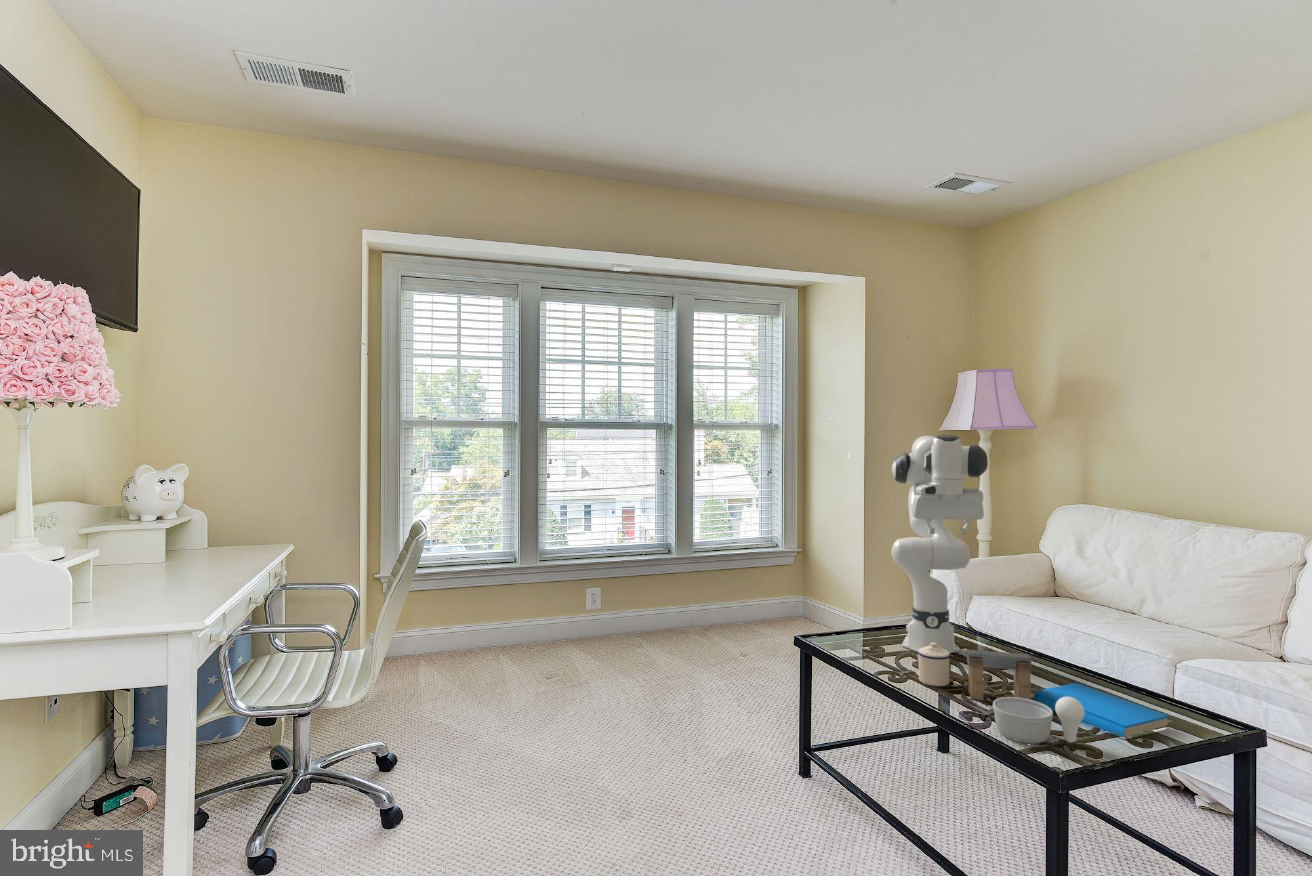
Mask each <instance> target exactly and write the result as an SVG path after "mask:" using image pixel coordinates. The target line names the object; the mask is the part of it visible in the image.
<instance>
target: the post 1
mask: <svg viewBox="0 0 1312 876" xmlns="http://www.w3.org/2000/svg"><path fill="white" fill-rule="evenodd" d="M967 667H968V668H967V675H968V677H967V683H968V684H967V687H968V688H967V689H968V694H969V696H970V699H971V700H978V701H979V700H980V701H984V667H983V659H977V658H971V666H969V665H968V664H967Z"/></svg>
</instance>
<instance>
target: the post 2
mask: <svg viewBox="0 0 1312 876" xmlns="http://www.w3.org/2000/svg"><path fill="white" fill-rule="evenodd" d="M1031 672H1032V663H1031V664H1030V663H1025V662H1018V670H1013V697H1017V698H1024V699H1029V700H1032V697H1031V696H1032V695H1031V689H1032V688H1031V687H1032V685H1031V684H1032V683H1031V682H1032V681H1031V680H1032V679H1031V676H1032V675H1031V674H1032V673H1031Z"/></svg>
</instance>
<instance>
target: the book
mask: <svg viewBox="0 0 1312 876" xmlns="http://www.w3.org/2000/svg"><path fill="white" fill-rule="evenodd" d="M1062 697H1072V698H1075V699H1077V700H1078V701H1079V702H1080V703H1081V704H1082V706H1083V707H1084V711H1085V715H1084V718H1083V719H1082V721H1081V722H1080V723H1082V722H1083V723H1082V724H1084V723H1086V724H1085V725H1087V724H1089V725H1092V726H1095V727H1098V728H1100V729H1102V730H1104V731H1108V732H1111V733H1115V734H1117V735H1120V736H1121V737H1128V736H1131V735H1135V734H1137V733H1140V732H1143V731H1147V730H1151V729H1155V728H1158V727H1163V726H1165V725H1168V726H1169V721H1168V719H1169V715H1168V714H1165V713H1162V712H1160V711H1156V710H1154V709H1151V708H1149V707H1146V706H1142V705H1140V704H1137V703H1134V702H1131V701H1129V700H1125V699H1122V698H1120V697H1117V696H1114V695H1112V694H1108V693H1105V692H1103V691H1100V690H1097V689H1095V688H1092V687H1090V686H1087V685H1083V684H1081V683H1078V682H1074V683H1068V684H1063V685H1059V686H1053V687H1048V688H1043V689H1038V690H1035V692H1034V696H1033V701H1036V702H1039V703H1042V704H1044V705H1046V706H1047V707H1049V708H1050V709H1051V710H1052V712H1055V713H1056V710H1055V705H1056V702H1057V701H1058V700H1059V699H1060V698H1062ZM1089 725H1088V726H1089ZM1092 726H1091V727H1092ZM1104 731H1103V732H1104Z"/></svg>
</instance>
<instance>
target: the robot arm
mask: <svg viewBox="0 0 1312 876" xmlns="http://www.w3.org/2000/svg"><path fill="white" fill-rule="evenodd" d="M988 461H989V459H988V455H987V452H986V451H985V449H984V448H982V447H981V446H980V445H978V444H976V445H973V444H972V445H962V440H961V438H960V436H957V435H953V434H941V435H935V436H934V435H923V436H919V437H918V438H916V439H915V440H914V441H913V443H912V445H911V453H907V452H906V451H904V452H903V453H902V454H900V455H898V456H897V457H895V458H894V460H893V463H892V465H891V471H892V472H891V473H892V476H893V478H894V480H895V481H896V482H897V483H900V484H904V485H905V484H910V485H911V484H913V485H912V486H911V487H910V488H909V491H908V500H907V501H908V502H907V503H908V504H907V505H908V506H907V507H908V516H909V525H910V528H911V529H912V531H913V533H915V534H916V535H918V536H919V537H918V536H915V537H914V536H913V537H912V536H910V537H909V536H908V537H903V538H902V537H901V538H898V539H896V540H895V541H894V543H893V544H892V546H891V552H890V553H891V558H892V560H893V562H894V563H895V565H896V566H898V567H900V569H902V570H903V571H904V573H906V575H907V576H908V578H909V580H910V582H911V586H912V591H913V592H912V594H913V595H912V596H913V607H912V609H911V614H912V619H911V621H910V622H909V623H908V624H906V625H905V627H906V628H905V631H906V632H908V633H906V636H905V638H904V640H903V642H902V643H901V644H902V645H901V647H902V648H906V649H910V650H912V651H914V652H917V653H918V650H919V649H920V648H923V647H927V646H930V643H937V646H938V647H940V648H942V649H944V650H946V651H948V652H949V654H950V655H951V654H952V653H959V652H961V648H960V646H958V645H957V644H956V643H955V628H954V626H953V625H952V623H950V622H949V621H950V609H948V607H949V606H948V605H949V603H948V601H949V600H948V599H949V598H948V596H949V595H948V589H947V586H946V585H945V583H944V582H942V581H941V580H938V579H936V578H934V577H932V576H931V575H930V573H929V570H939V571H940V570H942V571H953V570H961V569H965V568H967V566H968V564H969V563H970V562H971V561H970V560H971V557H972V555H971V554H972V553H971V549H970V548H969V545H968V544H967V543H966V542H965V541H964V540H962V539H960V538H959V537H956V536H955V534H952V532H951V531H950V530H949V528H947V526H946V525H945V522H944V520H963V522H964V525H963V526H962V527H960V531H959V532H960V534H961V535H968V529H969V527H970V526H971V524H972V520H982V519H983V518H984V516H985V515H984V512H985V511H984V505H983V501H984V493H983V491H981V490H980V489H978V488H966V487H965V488H964V477H969V478H979V477H981V476H982V475H983V474H984V473H985V472H986V471H987V469H988V465H989V463H988Z"/></svg>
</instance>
